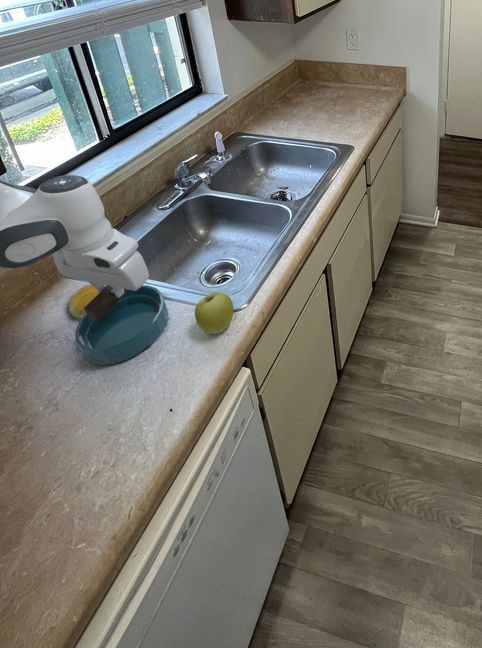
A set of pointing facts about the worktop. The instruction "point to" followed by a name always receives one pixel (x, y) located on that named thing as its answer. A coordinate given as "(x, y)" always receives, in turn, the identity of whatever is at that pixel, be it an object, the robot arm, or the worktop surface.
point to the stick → (102, 303)
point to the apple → (214, 312)
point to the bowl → (123, 327)
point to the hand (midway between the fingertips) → (112, 293)
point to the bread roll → (82, 300)
